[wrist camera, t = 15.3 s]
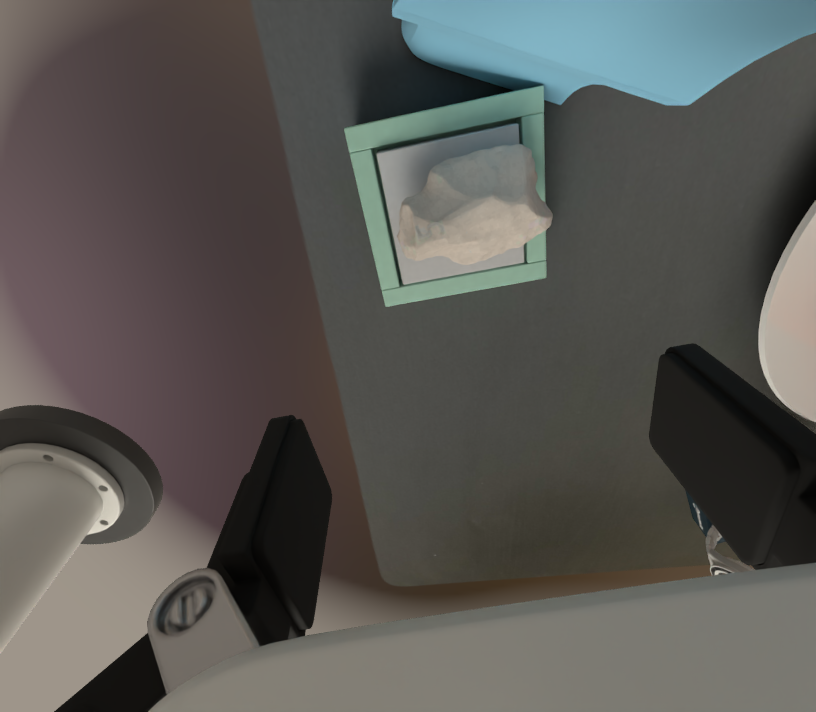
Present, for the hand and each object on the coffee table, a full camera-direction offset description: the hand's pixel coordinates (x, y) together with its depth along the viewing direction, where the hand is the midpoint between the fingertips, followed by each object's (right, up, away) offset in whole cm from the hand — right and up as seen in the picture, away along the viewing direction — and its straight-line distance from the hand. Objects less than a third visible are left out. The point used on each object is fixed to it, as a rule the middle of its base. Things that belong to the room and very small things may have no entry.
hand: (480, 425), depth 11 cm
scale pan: (+1, +11, +14) cm, 18 cm away
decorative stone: (+2, +11, +13) cm, 17 cm away
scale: (+1, +12, +16) cm, 20 cm away
